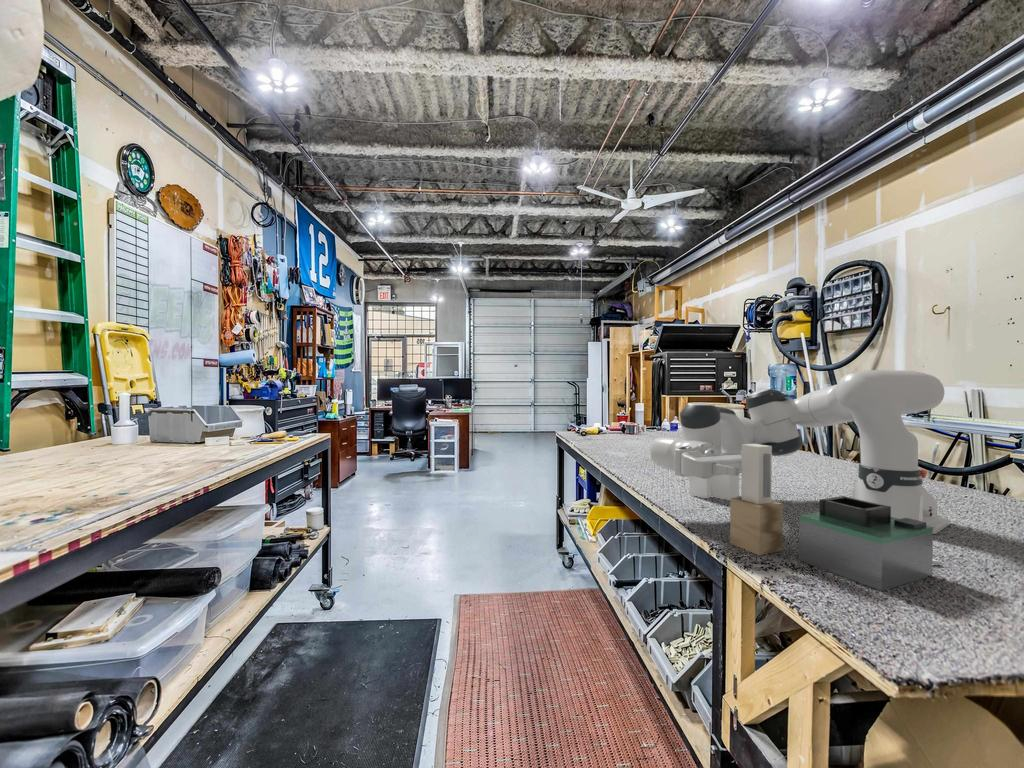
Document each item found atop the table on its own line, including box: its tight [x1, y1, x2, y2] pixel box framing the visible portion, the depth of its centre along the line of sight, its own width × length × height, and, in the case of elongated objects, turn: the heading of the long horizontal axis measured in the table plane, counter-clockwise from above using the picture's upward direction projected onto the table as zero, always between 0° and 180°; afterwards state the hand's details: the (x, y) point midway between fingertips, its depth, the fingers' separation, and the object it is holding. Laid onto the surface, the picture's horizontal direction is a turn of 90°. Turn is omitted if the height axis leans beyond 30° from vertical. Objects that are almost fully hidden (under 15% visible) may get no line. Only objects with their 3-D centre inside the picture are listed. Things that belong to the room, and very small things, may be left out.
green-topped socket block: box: [798, 495, 934, 592], centre depth 83 cm, size 16×14×12 cm
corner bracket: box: [689, 473, 741, 501], centre depth 136 cm, size 11×11×12 cm
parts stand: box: [729, 496, 784, 557], centre depth 93 cm, size 7×7×10 cm
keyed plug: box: [740, 444, 773, 504], centre depth 92 cm, size 4×5×12 cm
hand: (752, 470), depth 93 cm, fingers open, 8 cm apart
